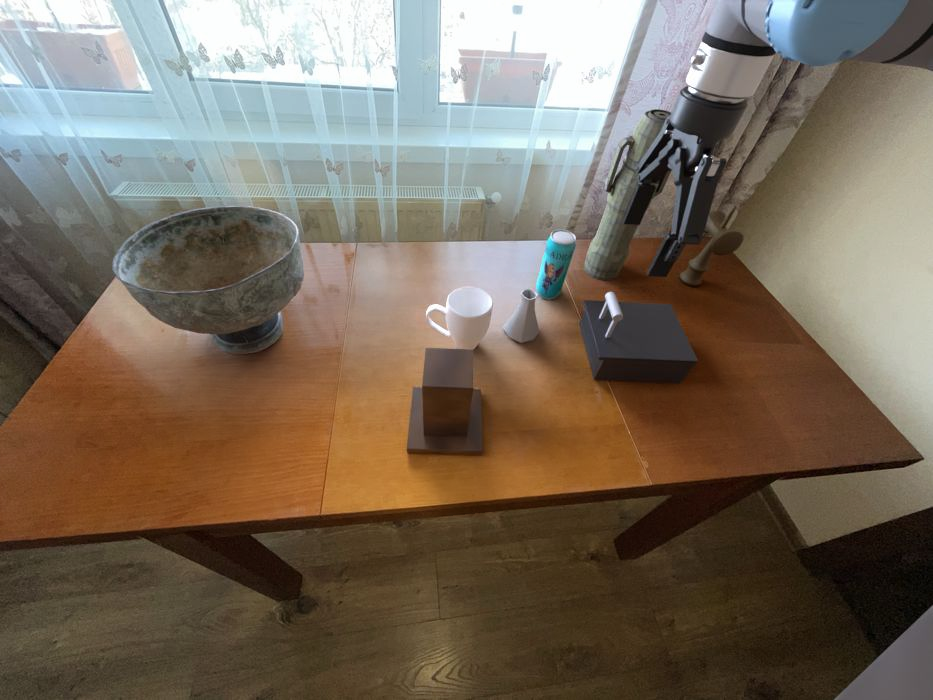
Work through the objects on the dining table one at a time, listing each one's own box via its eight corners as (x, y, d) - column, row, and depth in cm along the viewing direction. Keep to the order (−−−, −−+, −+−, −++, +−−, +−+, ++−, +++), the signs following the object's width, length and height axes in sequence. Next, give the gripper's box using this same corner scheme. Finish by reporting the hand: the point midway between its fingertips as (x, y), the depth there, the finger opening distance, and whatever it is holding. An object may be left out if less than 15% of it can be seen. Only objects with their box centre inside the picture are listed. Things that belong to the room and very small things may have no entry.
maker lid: (598, 359, 71) (611, 332, 66) (582, 302, 81) (593, 275, 76) (696, 363, 72) (717, 337, 67) (668, 307, 82) (685, 279, 77)
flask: (520, 313, 87) (529, 276, 79) (545, 332, 83) (556, 296, 76) (496, 327, 83) (502, 291, 76) (520, 348, 80) (530, 312, 72)
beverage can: (532, 297, 90) (546, 240, 79) (537, 282, 94) (551, 225, 83) (557, 304, 89) (575, 247, 78) (561, 288, 93) (579, 232, 82)
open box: (593, 380, 76) (603, 360, 71) (579, 323, 86) (587, 303, 81) (680, 383, 77) (696, 364, 72) (656, 327, 87) (668, 307, 82)
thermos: (630, 280, 97) (704, 124, 70) (583, 281, 95) (642, 122, 69) (617, 258, 103) (682, 106, 76) (573, 258, 101) (623, 104, 75)
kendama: (684, 293, 95) (731, 217, 80) (670, 267, 101) (712, 193, 86) (708, 294, 95) (760, 219, 80) (693, 269, 102) (739, 194, 86)
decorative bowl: (150, 388, 68) (78, 297, 53) (188, 291, 84) (141, 201, 70) (314, 373, 73) (290, 288, 59) (320, 285, 90) (302, 201, 75)
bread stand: (480, 393, 72) (489, 337, 61) (481, 455, 64) (492, 404, 53) (413, 391, 72) (410, 334, 60) (406, 453, 64) (401, 401, 52)
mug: (484, 328, 83) (491, 286, 74) (488, 359, 78) (495, 317, 69) (426, 328, 82) (426, 284, 73) (426, 359, 77) (425, 316, 68)
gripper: (651, 59, 54) (601, 204, 70) (731, 133, 38) (642, 300, 54) (705, 63, 55) (643, 206, 71) (806, 138, 38) (696, 302, 54)
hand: (642, 247), depth 62 cm, fingers open, 13 cm apart
